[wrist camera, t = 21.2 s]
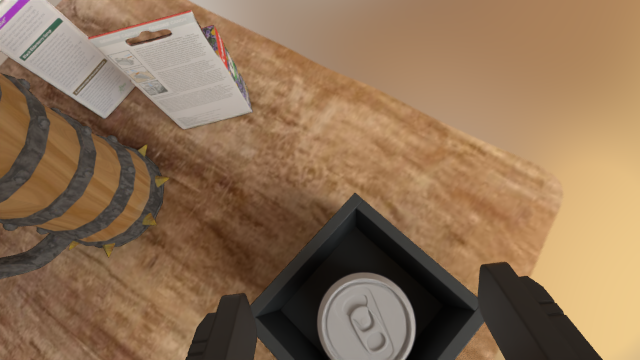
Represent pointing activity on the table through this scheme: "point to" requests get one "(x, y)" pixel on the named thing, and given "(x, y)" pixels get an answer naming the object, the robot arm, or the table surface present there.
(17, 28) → the syrup box
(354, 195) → the waste bin
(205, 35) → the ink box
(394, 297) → the beverage can
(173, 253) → the table surface
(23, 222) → the mug
